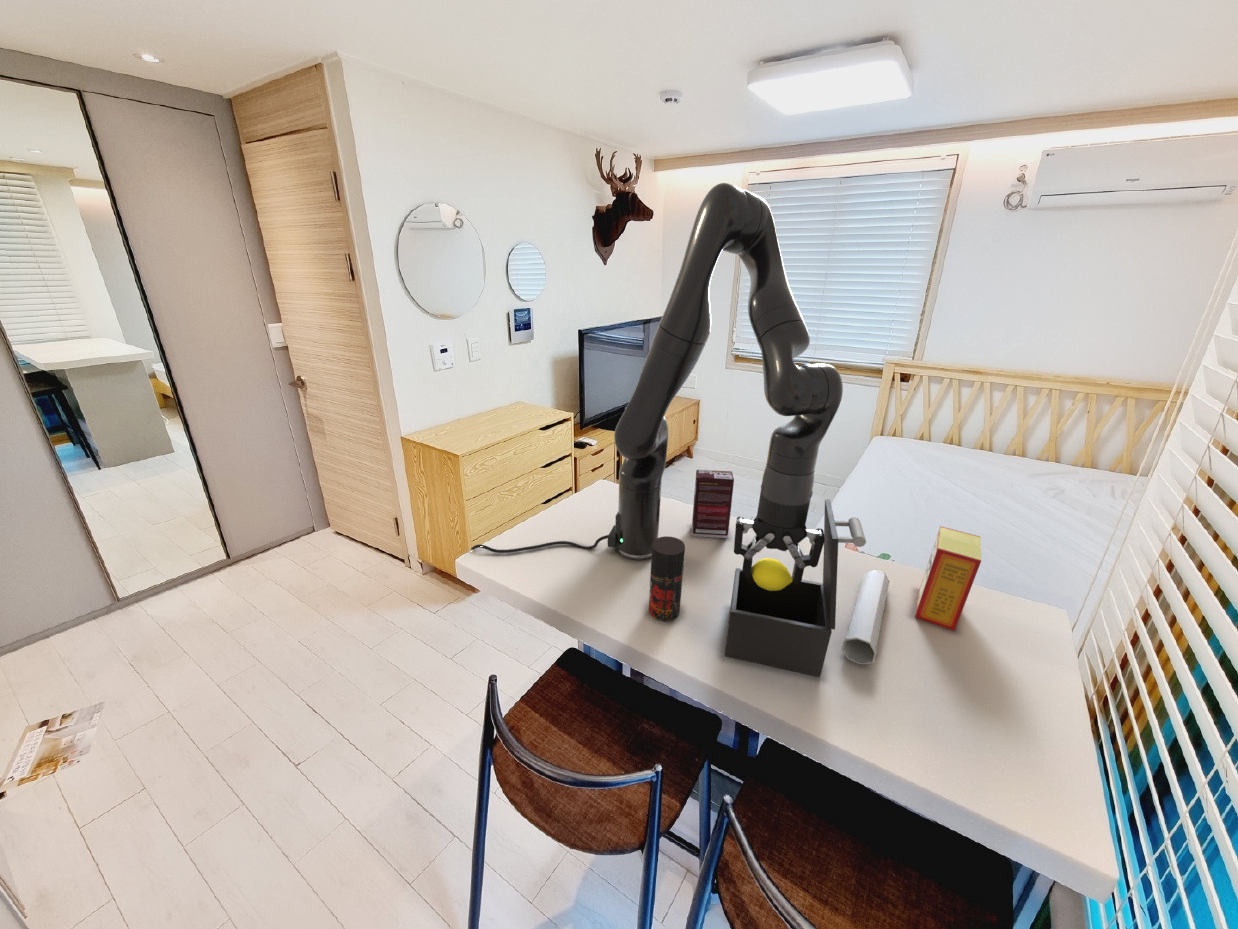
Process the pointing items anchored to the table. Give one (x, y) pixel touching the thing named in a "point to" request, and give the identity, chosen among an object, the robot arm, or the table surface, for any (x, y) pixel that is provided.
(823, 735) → the table surface
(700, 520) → the supplement box
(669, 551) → the deodorant
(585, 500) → the table surface
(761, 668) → the table surface
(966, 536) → the baking soda box
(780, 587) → the lemon
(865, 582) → the tube
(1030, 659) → the table surface
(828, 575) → the lid
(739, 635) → the dark grey box
